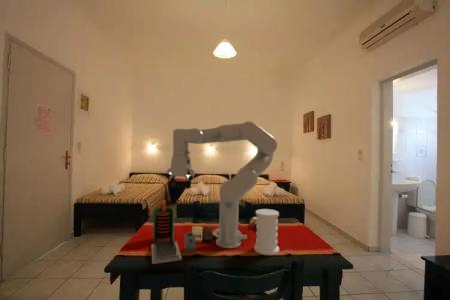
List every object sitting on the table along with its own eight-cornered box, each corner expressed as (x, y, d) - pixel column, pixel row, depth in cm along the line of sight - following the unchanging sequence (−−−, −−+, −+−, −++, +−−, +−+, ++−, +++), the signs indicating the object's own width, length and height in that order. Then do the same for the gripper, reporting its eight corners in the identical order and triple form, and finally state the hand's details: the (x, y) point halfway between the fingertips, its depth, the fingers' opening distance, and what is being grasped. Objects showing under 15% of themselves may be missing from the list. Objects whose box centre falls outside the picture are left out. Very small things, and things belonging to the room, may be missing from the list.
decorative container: (279, 256, 104) (280, 216, 104) (253, 253, 107) (254, 214, 106) (278, 245, 116) (279, 209, 116) (255, 243, 118) (255, 208, 118)
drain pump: (193, 247, 113) (194, 230, 113) (196, 252, 107) (196, 235, 107) (183, 248, 111) (183, 231, 111) (185, 254, 105) (185, 236, 105)
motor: (154, 244, 115) (155, 204, 115) (151, 238, 123) (152, 200, 123) (175, 241, 120) (175, 202, 120) (170, 235, 128) (171, 198, 127)
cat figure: (275, 239, 128) (262, 221, 152) (275, 224, 127) (263, 208, 152) (257, 240, 127) (247, 222, 151) (257, 224, 126) (248, 208, 151)
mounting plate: (176, 243, 117) (176, 236, 117) (181, 260, 99) (181, 251, 99) (151, 246, 113) (151, 239, 113) (152, 264, 96) (152, 255, 96)
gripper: (199, 153, 117) (199, 188, 117) (172, 153, 125) (172, 185, 125) (190, 154, 110) (190, 190, 110) (162, 153, 118) (162, 187, 118)
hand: (180, 187), depth 118 cm, fingers open, 9 cm apart
